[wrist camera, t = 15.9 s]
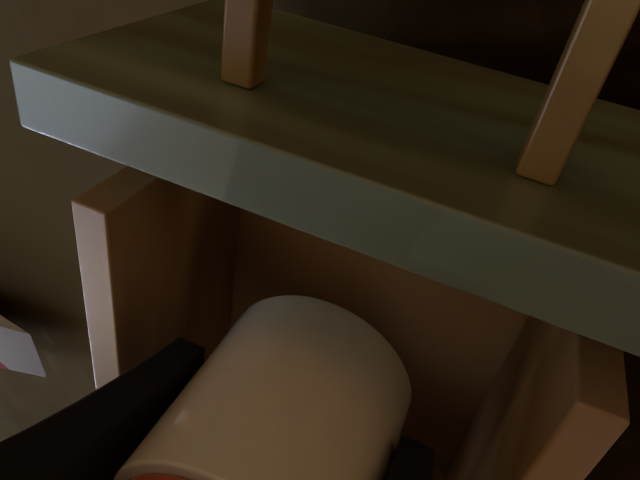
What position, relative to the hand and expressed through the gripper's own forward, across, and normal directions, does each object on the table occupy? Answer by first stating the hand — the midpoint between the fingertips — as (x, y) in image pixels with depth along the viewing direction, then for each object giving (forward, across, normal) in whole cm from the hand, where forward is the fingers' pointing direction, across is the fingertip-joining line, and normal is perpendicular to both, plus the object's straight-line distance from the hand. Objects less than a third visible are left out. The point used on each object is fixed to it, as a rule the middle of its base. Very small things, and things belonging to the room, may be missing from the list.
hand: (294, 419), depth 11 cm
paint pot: (+1, 0, 0) cm, 1 cm away
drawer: (+6, 0, -2) cm, 7 cm away
